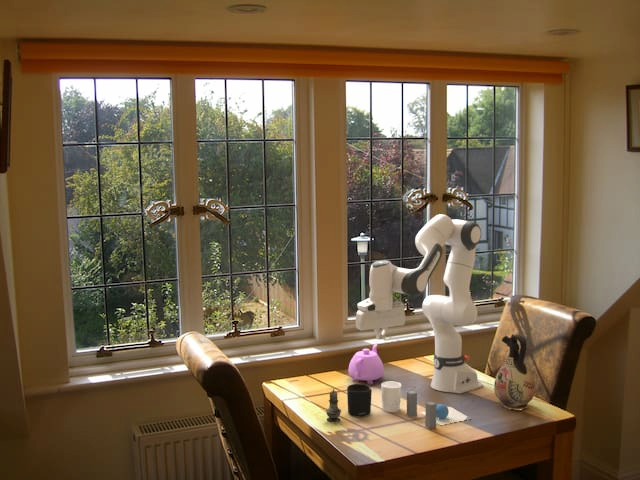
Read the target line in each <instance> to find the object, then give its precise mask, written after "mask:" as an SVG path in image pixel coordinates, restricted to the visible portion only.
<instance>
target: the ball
mask: <svg viewBox="0 0 640 480" xmlns="http://www.w3.org/2000/svg"><path fill="white" fill-rule="evenodd" d="M447 407H448V406H447V405H446V404H443V403H438V404H436V417H437V418H439V419H444V418H446V417H447V416H448V413H449V410H448V408H447Z"/></svg>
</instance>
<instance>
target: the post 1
mask: <svg viewBox="0 0 640 480" xmlns="http://www.w3.org/2000/svg"><path fill="white" fill-rule="evenodd" d="M406 415H407V416H408V417H410V418H412V417H417V416H418V392H416V391H415V390H409V391H406Z"/></svg>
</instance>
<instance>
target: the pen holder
mask: <svg viewBox="0 0 640 480" xmlns="http://www.w3.org/2000/svg"><path fill="white" fill-rule="evenodd" d="M346 391H347V393H346V394H347V397H346V398H347V413H348V414H349V415H350V416H353V417H358V418H362V417H367V416H369V415H370V414H371V413H372V412H371V409H372V395H373V393H372V392H373V391H372V388H370V386H368V384H366V383H365V384H364V383H353V384H349V385H348V386H347V388H346Z"/></svg>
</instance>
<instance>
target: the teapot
mask: <svg viewBox="0 0 640 480" xmlns="http://www.w3.org/2000/svg"><path fill="white" fill-rule="evenodd" d="M377 349H378V343H374V344H373V345H372V349H371V350H370V349H369V348H363V349H362V350H361V351H360V350H359V351H357V352H355V354H354V355H353V356H352V358H351V360H350V362H349V365H348V373H349V376H351V378H353V379H352V382H355V383H356V382H358V383H359V381H366V385H373V384H374V381H377V380H380V378H381V377H382V376H383V374H384V372H385V370H384V368H385V367H384V364H383V362H382V360H381V357H380V356H379V354H378V351H377Z"/></svg>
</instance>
